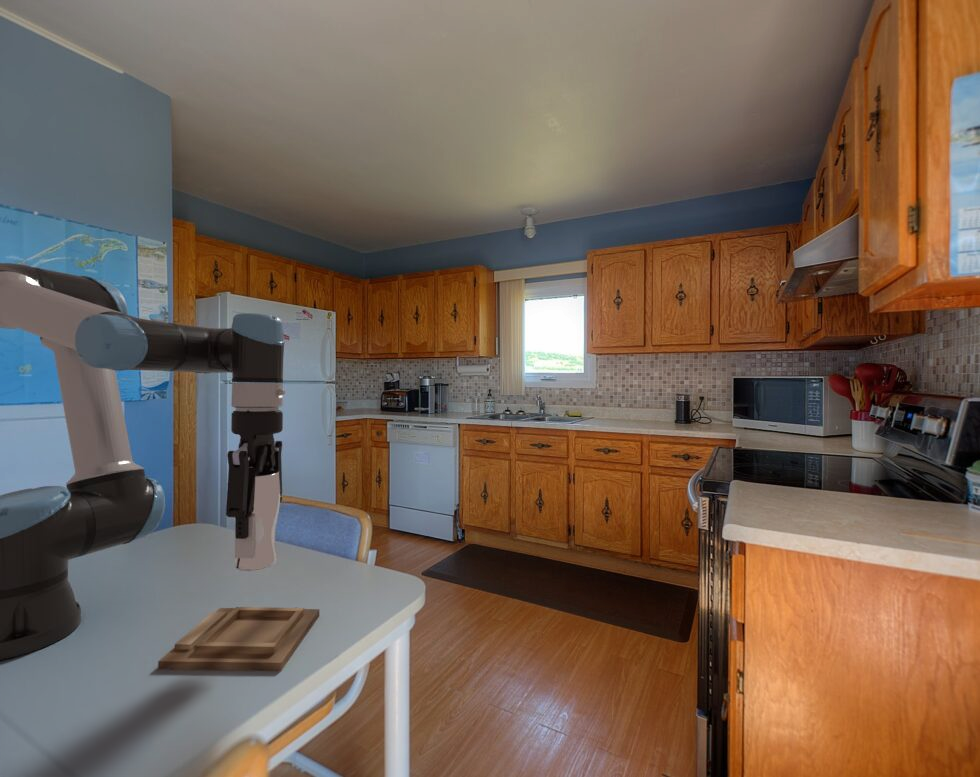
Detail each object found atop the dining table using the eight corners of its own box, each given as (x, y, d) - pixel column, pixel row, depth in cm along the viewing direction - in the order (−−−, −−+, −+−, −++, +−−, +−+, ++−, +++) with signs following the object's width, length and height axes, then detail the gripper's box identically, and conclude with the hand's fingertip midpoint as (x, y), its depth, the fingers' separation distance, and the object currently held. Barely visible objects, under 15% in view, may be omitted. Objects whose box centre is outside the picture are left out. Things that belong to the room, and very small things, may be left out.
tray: (158, 669, 67) (158, 653, 67) (220, 614, 83) (220, 601, 83) (281, 670, 68) (281, 654, 68) (319, 615, 84) (319, 602, 84)
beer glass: (260, 574, 71) (261, 478, 71) (221, 569, 73) (222, 475, 73) (288, 557, 78) (289, 470, 78) (252, 554, 80) (253, 467, 79)
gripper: (251, 413, 66) (249, 573, 66) (303, 406, 85) (302, 530, 85) (198, 412, 65) (196, 573, 66) (263, 406, 85) (261, 529, 85)
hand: (256, 548), depth 75 cm, fingers closed on beer glass, 6 cm apart
